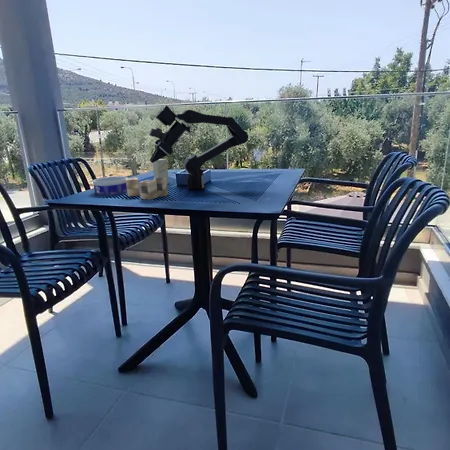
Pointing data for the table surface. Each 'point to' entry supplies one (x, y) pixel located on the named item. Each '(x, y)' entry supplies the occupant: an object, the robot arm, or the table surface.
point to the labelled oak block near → (148, 189)
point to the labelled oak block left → (161, 186)
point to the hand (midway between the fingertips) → (150, 161)
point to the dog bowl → (110, 185)
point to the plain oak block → (132, 186)
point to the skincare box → (160, 169)
